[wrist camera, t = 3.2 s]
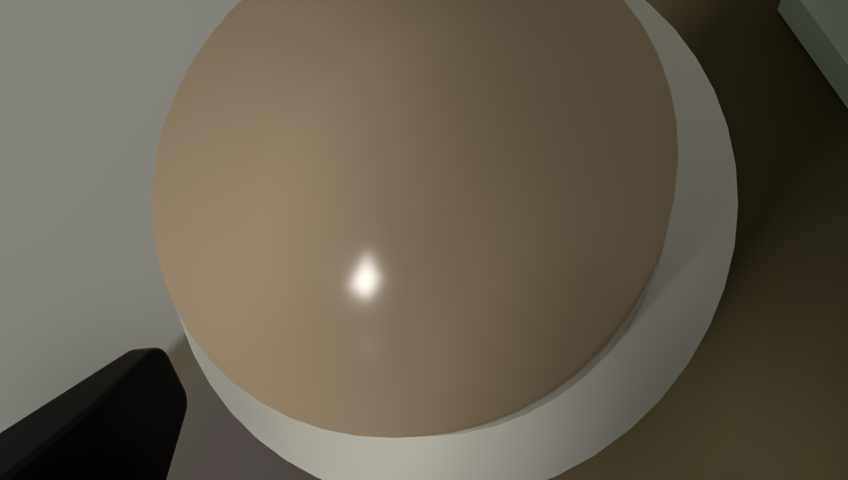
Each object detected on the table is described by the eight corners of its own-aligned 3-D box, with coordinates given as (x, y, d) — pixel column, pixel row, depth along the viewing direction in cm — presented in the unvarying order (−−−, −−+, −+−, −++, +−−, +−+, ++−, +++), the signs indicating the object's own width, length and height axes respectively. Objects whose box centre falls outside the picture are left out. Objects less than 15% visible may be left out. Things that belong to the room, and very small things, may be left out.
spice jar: (705, 398, 17) (930, 312, 4) (503, 489, 17) (202, 637, 5) (600, 207, 18) (548, -246, 6) (420, 297, 19) (39, 54, 7)
